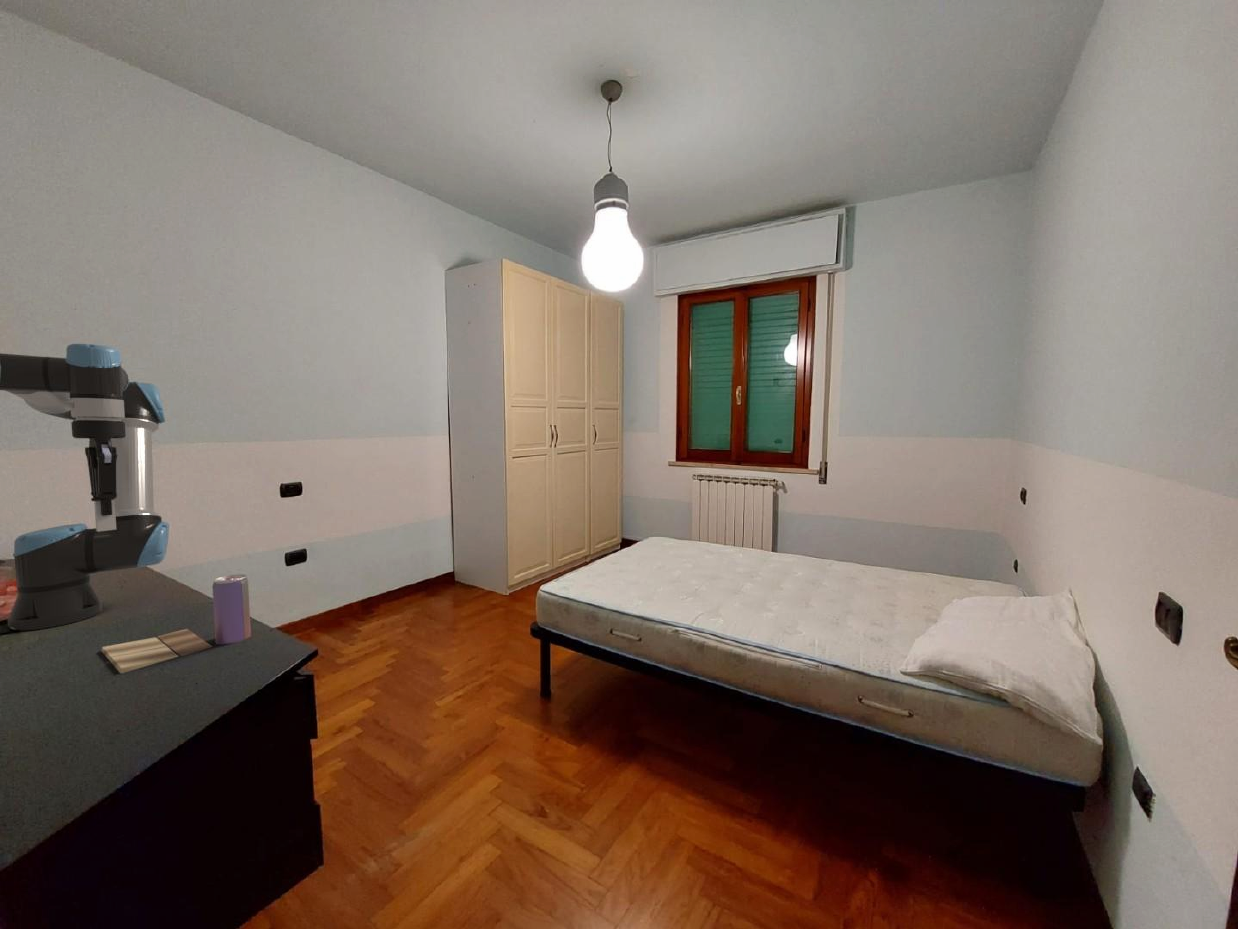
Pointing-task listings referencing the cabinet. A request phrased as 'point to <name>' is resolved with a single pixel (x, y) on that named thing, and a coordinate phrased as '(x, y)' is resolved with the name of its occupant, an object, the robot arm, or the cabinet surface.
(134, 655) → the oak plank
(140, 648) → the oak plank
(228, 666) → the cabinet surface
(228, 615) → the beverage can
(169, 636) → the laid board
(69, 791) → the cabinet surface
